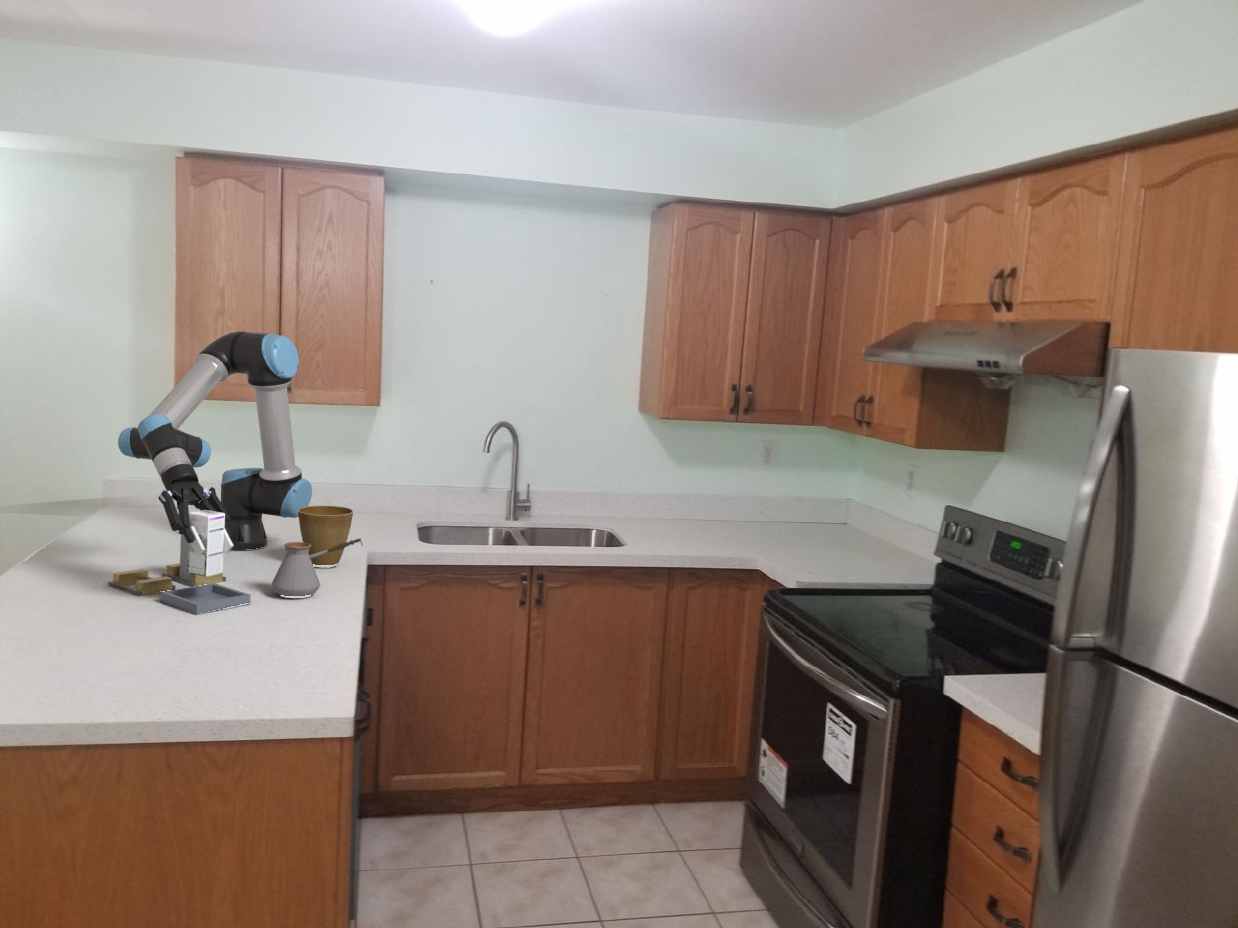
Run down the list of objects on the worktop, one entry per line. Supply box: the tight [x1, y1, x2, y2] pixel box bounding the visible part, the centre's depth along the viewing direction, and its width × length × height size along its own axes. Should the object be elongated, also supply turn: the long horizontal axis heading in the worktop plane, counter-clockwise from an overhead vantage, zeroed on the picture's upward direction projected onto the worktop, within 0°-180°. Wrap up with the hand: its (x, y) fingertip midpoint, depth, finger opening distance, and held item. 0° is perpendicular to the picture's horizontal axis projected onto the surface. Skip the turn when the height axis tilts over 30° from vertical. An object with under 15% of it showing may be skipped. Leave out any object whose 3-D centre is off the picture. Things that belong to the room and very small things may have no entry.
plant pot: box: [298, 505, 354, 565], centre depth 278 cm, size 15×15×16 cm
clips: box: [162, 562, 227, 587], centre depth 253 cm, size 10×12×3 cm
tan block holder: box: [108, 568, 177, 597], centre depth 241 cm, size 10×12×3 cm
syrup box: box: [187, 509, 225, 577], centre depth 230 cm, size 6×6×14 cm
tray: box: [159, 583, 251, 615], centre depth 232 cm, size 14×14×2 cm
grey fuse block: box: [179, 534, 190, 580], centre depth 252 cm, size 5×5×13 cm
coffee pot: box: [271, 537, 364, 596], centre depth 246 cm, size 21×12×15 cm, turn 103°
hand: (215, 550), depth 228 cm, fingers closed on syrup box, 7 cm apart
